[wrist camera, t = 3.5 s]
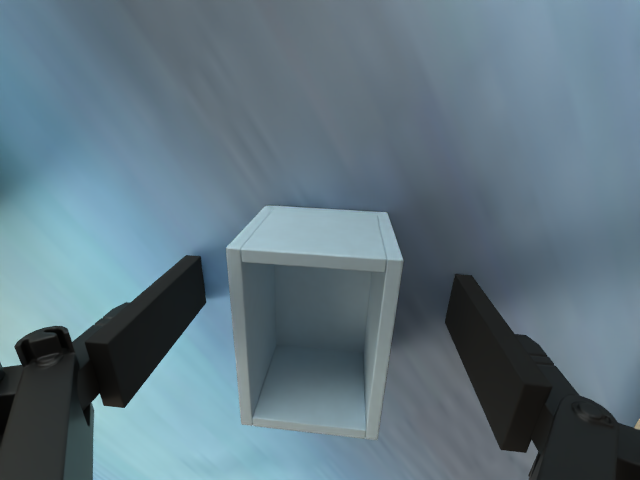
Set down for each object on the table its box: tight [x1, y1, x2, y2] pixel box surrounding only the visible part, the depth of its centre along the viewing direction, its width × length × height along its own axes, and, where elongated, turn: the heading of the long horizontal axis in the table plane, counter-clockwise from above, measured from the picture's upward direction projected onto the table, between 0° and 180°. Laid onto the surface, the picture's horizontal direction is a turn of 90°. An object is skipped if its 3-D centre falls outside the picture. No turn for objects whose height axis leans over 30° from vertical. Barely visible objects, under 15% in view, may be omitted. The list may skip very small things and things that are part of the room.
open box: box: [226, 205, 403, 440], centre depth 14 cm, size 8×6×5 cm
